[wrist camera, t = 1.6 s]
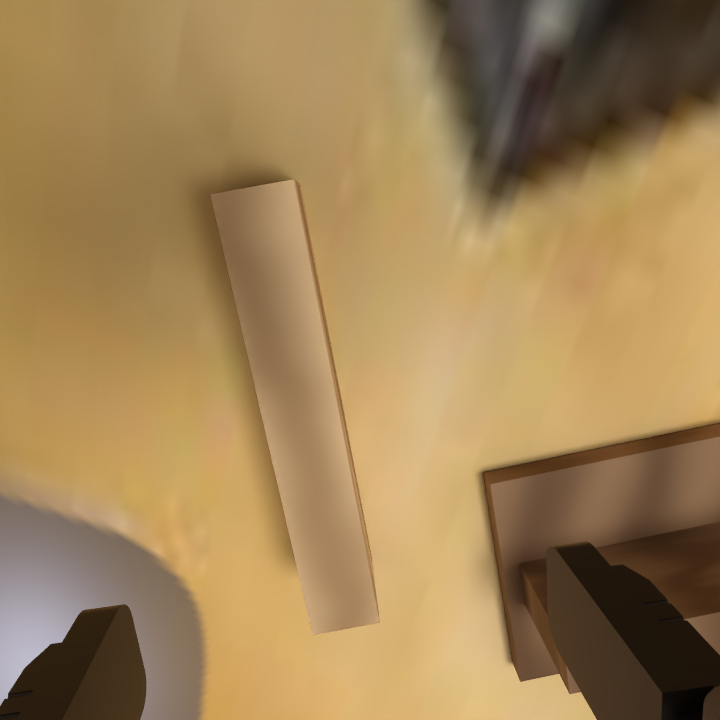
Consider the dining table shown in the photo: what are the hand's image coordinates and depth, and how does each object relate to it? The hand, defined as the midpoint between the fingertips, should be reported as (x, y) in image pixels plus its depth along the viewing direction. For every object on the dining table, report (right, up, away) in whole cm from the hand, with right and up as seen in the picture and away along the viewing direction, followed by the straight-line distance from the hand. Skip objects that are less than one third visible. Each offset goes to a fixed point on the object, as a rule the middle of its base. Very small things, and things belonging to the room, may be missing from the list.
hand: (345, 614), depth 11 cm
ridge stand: (+18, -7, +25) cm, 31 cm away
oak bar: (-3, +3, +21) cm, 22 cm away
